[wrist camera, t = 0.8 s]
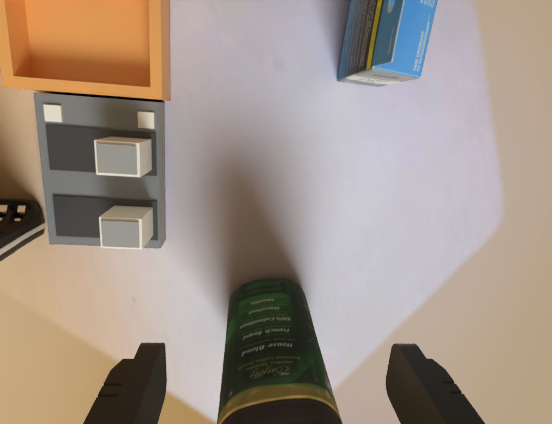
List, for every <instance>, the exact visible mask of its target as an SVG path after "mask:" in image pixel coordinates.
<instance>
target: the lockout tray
mask: <svg viewBox="0 0 552 424" xmlns="http://www.w3.org/2000/svg"><path fill="white" fill-rule="evenodd" d="M0 69H1V77H2V85H3V87H6V88H18V89H29V90H42V91H55V92H67V93H80V94H93V95H105V96H118V97H131V98H144V99H156V100H169V101H170V0H0Z"/></svg>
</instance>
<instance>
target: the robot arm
mask: <svg viewBox="0 0 552 424" xmlns="http://www.w3.org/2000/svg"><path fill="white" fill-rule="evenodd" d="M166 383H167V377H166V353H165V344H164V343H141V344H140V346H139V348H138V351H137V353H136V355H135V357H134V359H122V360H121V361H120V362H119V363H118V364H117V365H116V366H115V367H114V368H113V369H112V370H111V371H110V373H109V374H108V376H107V378H106V380H105V382H104V386H102V388H101V390H100V392H99V394H98V398H96V400H95V402H94V404H93V406H92V407H91V410H90V412H89V413H88V415H87V417H86V419H85V421H84V423H83V424H157V423H158V420H159V416H160V413H161V409H162V405H163V402H164V398H165V393H166ZM386 390H387V394H388V397H389V399H390V402H391V404H392V406H393V408H394V410H395V412H396V414H397V416H398V419H399V421H400V423H401V424H485V423H484V422H483V420H482V419H481V417H480V416H479V415H478V413H477V412H476V411H475V409H474V408H473V407H472V405H471V404H470V402H469V401H468V400H467V398H466V397H465V396H464V394H462V393H461V390H460V389H459V388H458V386H457V385H456V384H454V381H453V379H452V378H451V377H450V375H449V374H448V373H447V371H446V370H445V369H444V368H443V367H442V366H440V365H439V364H438V363H437V362H435V361H434V360H433V359H426V357H425V356H424V354H423V353H422V351H421V350H420V349H419V347H418V346H417V345H416V344H393V346H392V349H391V353H390V359H389V364H388V370H387V376H386Z"/></svg>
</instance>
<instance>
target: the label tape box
mask: <svg viewBox="0 0 552 424" xmlns="http://www.w3.org/2000/svg"><path fill="white" fill-rule="evenodd" d="M436 5H437V0H350V5H349V11H348V17H347V24H346V30H345V36H344V42H343V48H342V54H341V60H340V67H339V73H338V80H337V81H338V82H345V83H353V84H361V85H369V86H378V87H379V86H386V85H390V84H395V83H399V82H404V81H408V80H413V79H418V78H420V77H421V72H422V67H423V63H424V59H425V54H426V50H427V45H428V41H429V36H430V32H431V27H432V23H433V18H434V14H435V9H436Z"/></svg>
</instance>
